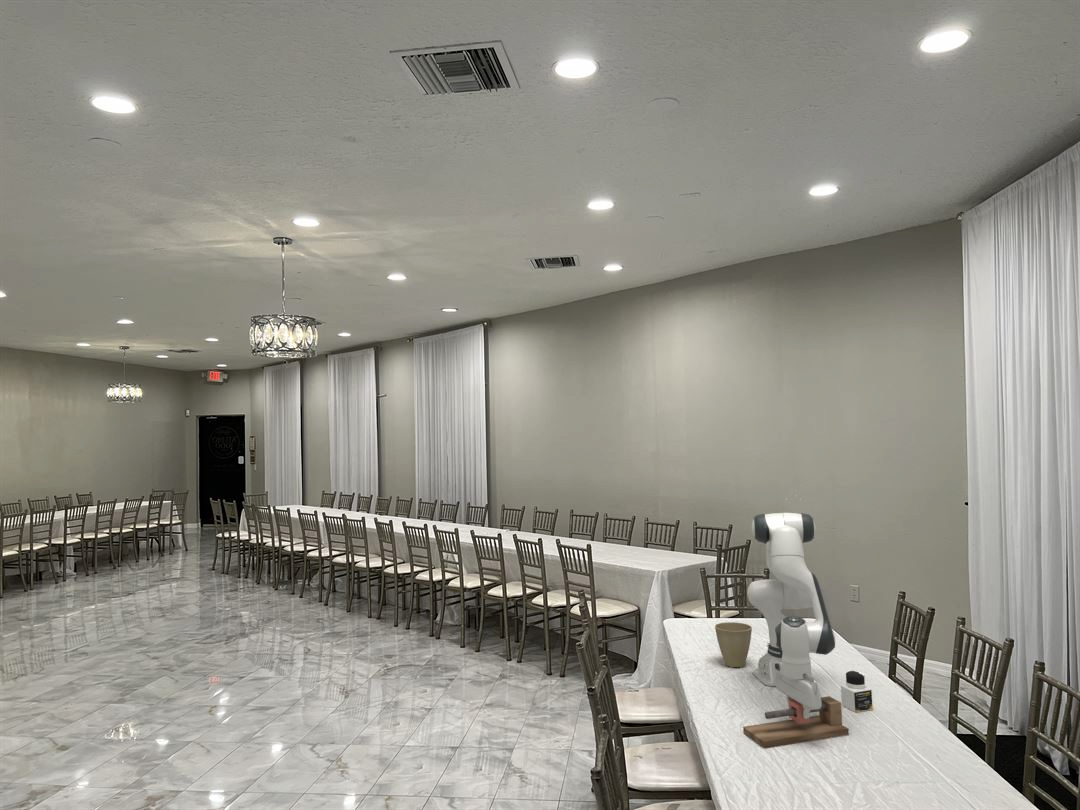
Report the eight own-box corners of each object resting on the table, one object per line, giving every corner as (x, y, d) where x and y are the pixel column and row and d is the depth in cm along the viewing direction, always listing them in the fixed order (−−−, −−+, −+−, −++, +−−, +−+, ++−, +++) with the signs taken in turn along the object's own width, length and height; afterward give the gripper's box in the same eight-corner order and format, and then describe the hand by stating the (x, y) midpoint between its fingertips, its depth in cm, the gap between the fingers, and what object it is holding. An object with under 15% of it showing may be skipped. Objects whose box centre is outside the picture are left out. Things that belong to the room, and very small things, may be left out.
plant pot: (758, 670, 289) (756, 630, 289) (721, 671, 289) (719, 631, 290) (748, 659, 304) (746, 621, 304) (713, 660, 304) (711, 622, 305)
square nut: (789, 717, 230) (788, 699, 231) (798, 715, 231) (797, 698, 231) (799, 723, 225) (798, 705, 225) (809, 722, 226) (808, 704, 226)
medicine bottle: (855, 712, 242) (853, 677, 243) (841, 705, 249) (839, 670, 250) (873, 709, 244) (871, 674, 245) (858, 702, 251) (856, 668, 252)
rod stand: (743, 733, 230) (742, 704, 230) (825, 720, 237) (823, 693, 237) (763, 748, 218) (762, 718, 218) (848, 734, 225) (847, 705, 226)
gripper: (825, 678, 219) (827, 724, 219) (787, 659, 239) (789, 701, 239) (807, 681, 218) (809, 727, 217) (770, 661, 238) (772, 703, 237)
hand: (798, 713), depth 228 cm, fingers closed on square nut, 6 cm apart
